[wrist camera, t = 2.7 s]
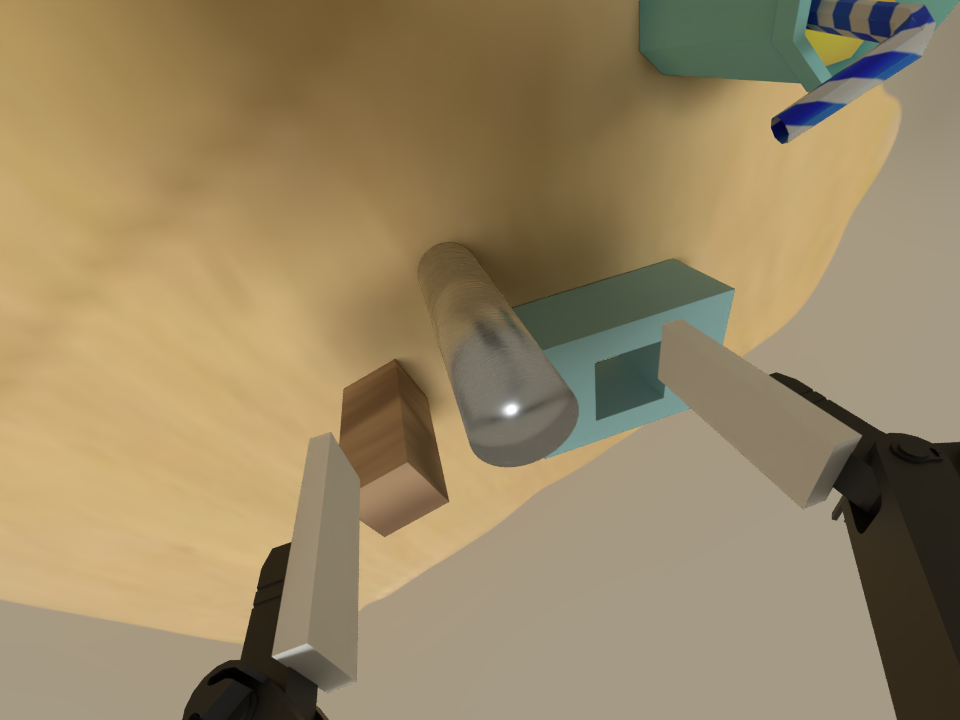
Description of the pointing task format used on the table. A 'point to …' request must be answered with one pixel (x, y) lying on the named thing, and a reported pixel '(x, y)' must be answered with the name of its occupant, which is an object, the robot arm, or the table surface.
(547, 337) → the socket block
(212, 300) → the table surface
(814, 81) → the cup
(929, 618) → the robot arm
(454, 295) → the round dowel
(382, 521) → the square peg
